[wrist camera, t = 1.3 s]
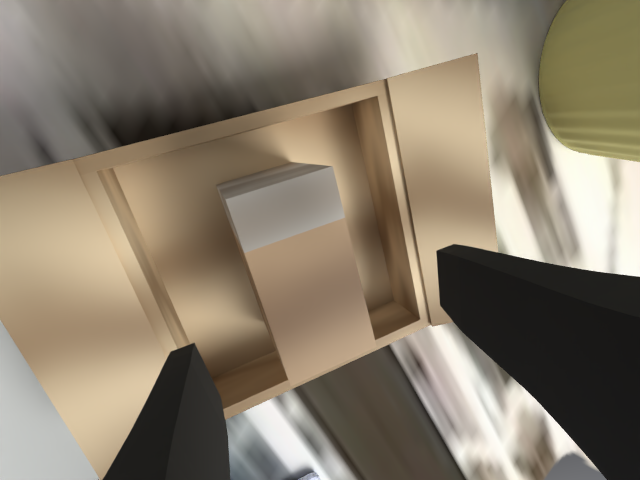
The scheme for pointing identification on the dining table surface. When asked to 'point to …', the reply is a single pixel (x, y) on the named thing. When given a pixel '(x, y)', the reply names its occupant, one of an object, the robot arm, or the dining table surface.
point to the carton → (231, 242)
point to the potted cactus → (594, 77)
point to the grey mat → (33, 426)
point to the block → (300, 265)
